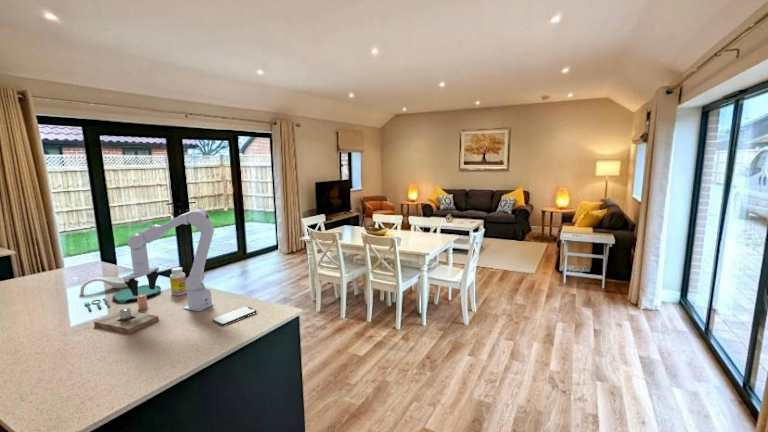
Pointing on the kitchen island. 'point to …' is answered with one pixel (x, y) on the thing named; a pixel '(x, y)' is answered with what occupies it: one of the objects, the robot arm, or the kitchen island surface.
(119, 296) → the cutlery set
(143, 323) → the wooden board with hole
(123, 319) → the steel pin
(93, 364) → the kitchen island surface
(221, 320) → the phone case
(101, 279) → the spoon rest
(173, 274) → the supplement bottle
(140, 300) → the terracotta pin
